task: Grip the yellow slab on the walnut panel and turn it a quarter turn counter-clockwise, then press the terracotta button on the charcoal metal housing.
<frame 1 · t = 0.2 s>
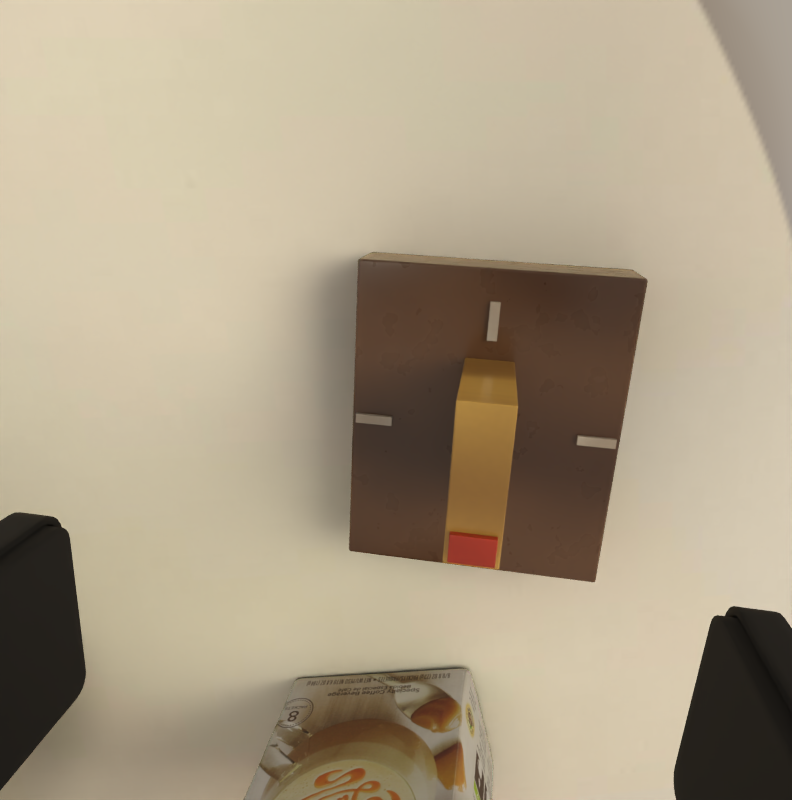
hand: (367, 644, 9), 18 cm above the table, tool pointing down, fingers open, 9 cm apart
yellow slab: (480, 457, 22), point 5 cm above the table, hinge at 0.0°
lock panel: (484, 408, 27), on the table
coffee box: (393, 717, 33), on the table
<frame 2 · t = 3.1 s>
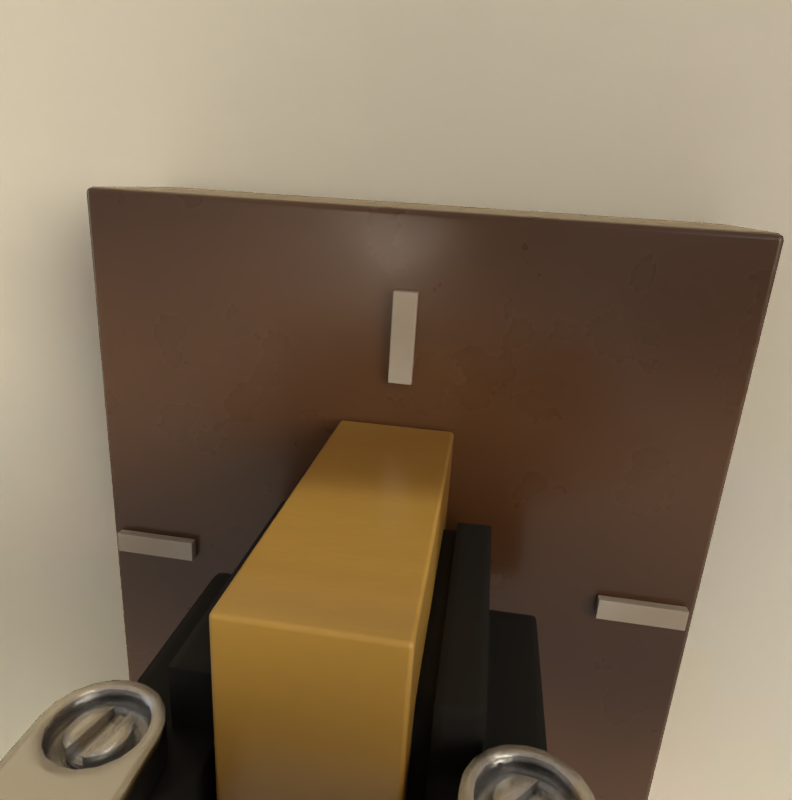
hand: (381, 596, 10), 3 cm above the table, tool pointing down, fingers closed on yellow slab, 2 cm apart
yellow slab: (355, 687, 9), point 5 cm above the table, hinge at 0.2°, touching gripper
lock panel: (407, 506, 13), on the table
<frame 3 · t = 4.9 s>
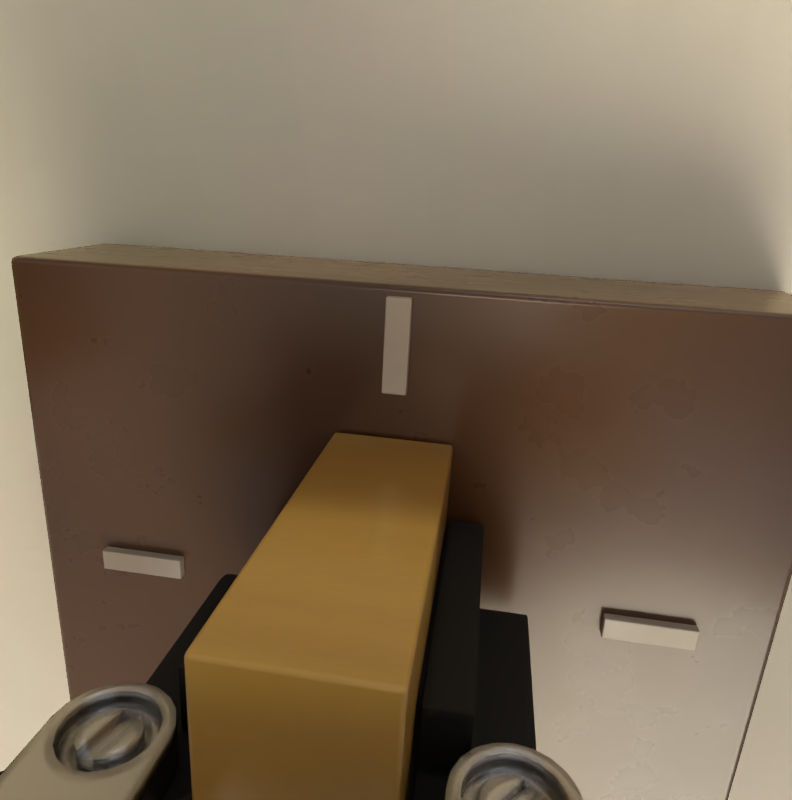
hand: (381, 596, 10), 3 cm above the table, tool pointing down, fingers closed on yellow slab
yellow slab: (348, 717, 8), point 5 cm above the table, hinge at 89.9°, touching gripper
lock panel: (405, 519, 13), on the table
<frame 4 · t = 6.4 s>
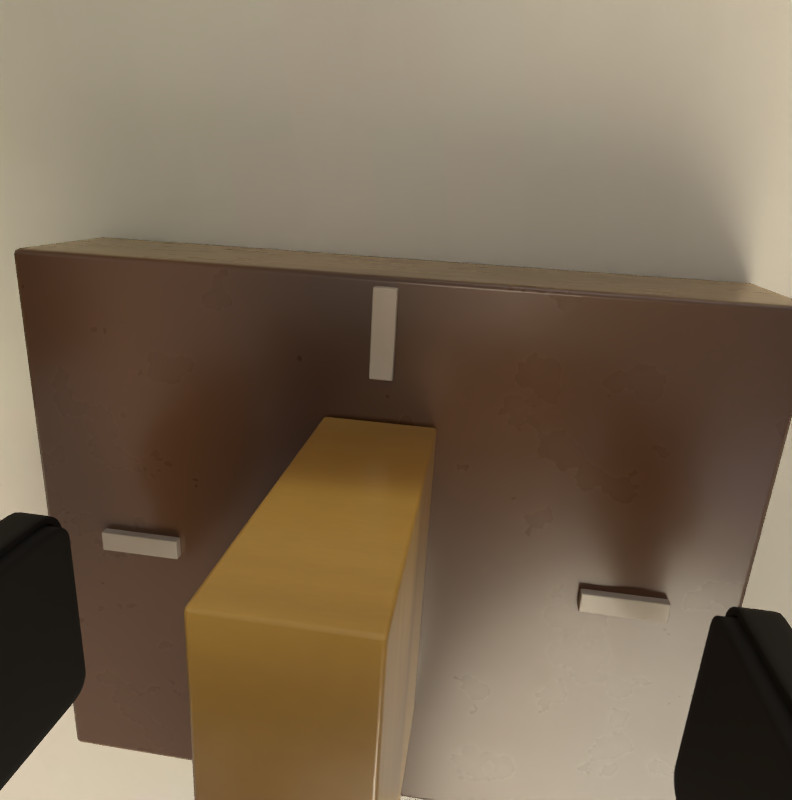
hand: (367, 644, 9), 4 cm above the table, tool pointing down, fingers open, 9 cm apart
yellow slab: (337, 682, 9), point 5 cm above the table, hinge at 89.9°
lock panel: (393, 503, 13), on the table
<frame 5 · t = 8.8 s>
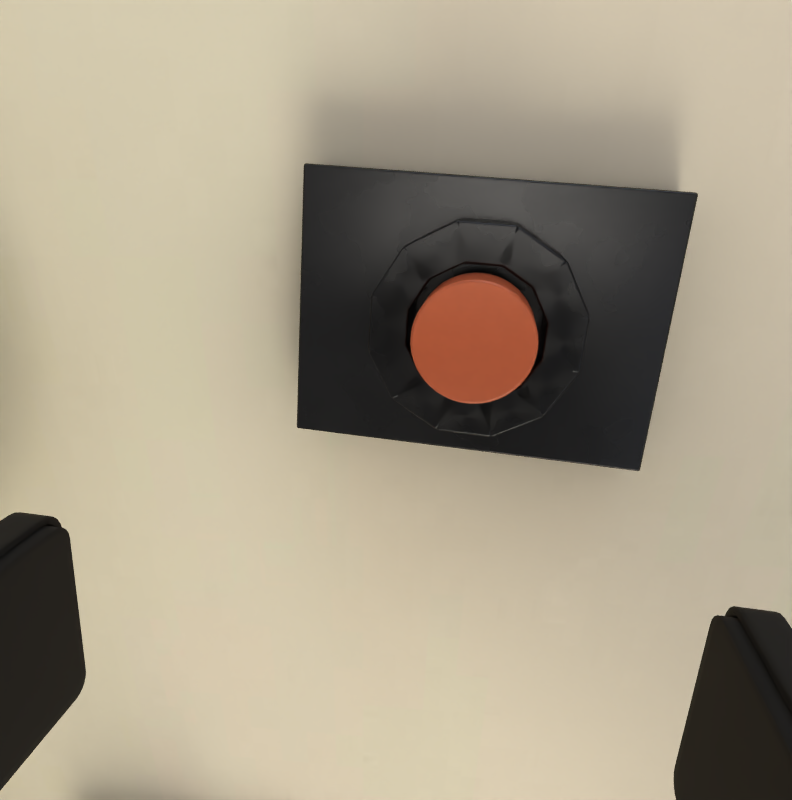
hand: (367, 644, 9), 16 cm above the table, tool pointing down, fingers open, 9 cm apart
button box: (479, 310, 23), on the table
button: (474, 337, 19), point 4 cm above the table, slide at 0.1 cm
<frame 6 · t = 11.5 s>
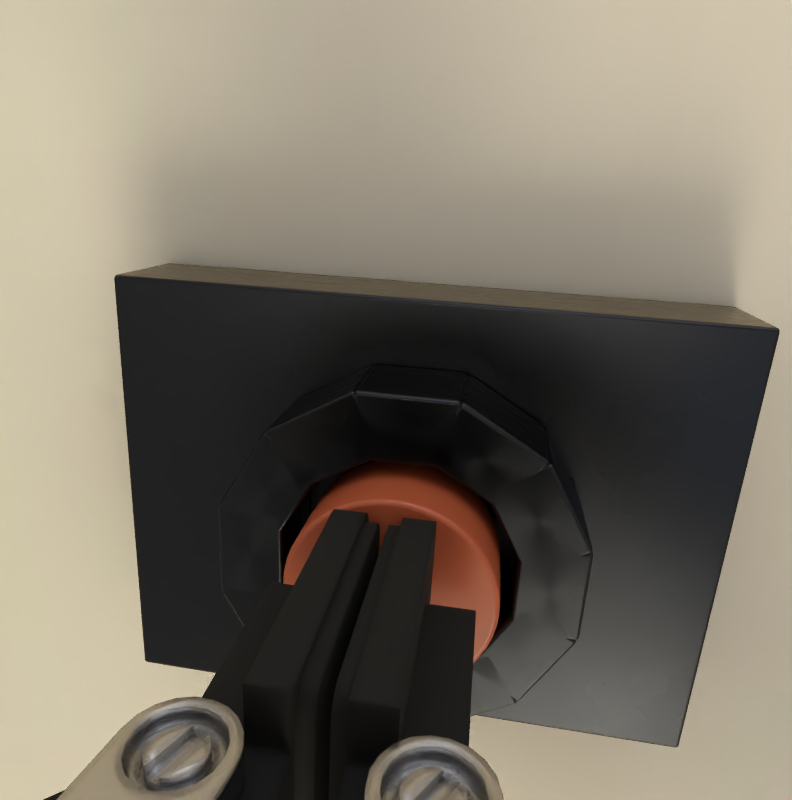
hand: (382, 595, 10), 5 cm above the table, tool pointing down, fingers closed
button box: (422, 478, 15), on the table
button: (396, 571, 11), point 4 cm above the table, slide at -0.4 cm, touching gripper
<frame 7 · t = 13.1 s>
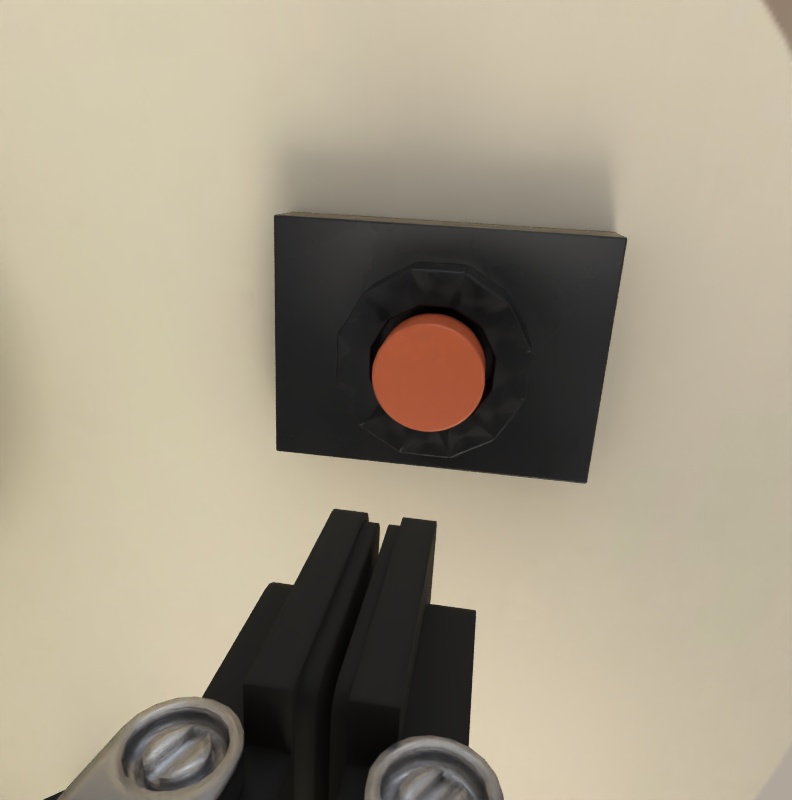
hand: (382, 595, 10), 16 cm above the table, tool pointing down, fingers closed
button box: (440, 339, 25), on the table
button: (429, 371, 21), point 4 cm above the table, slide at 0.1 cm
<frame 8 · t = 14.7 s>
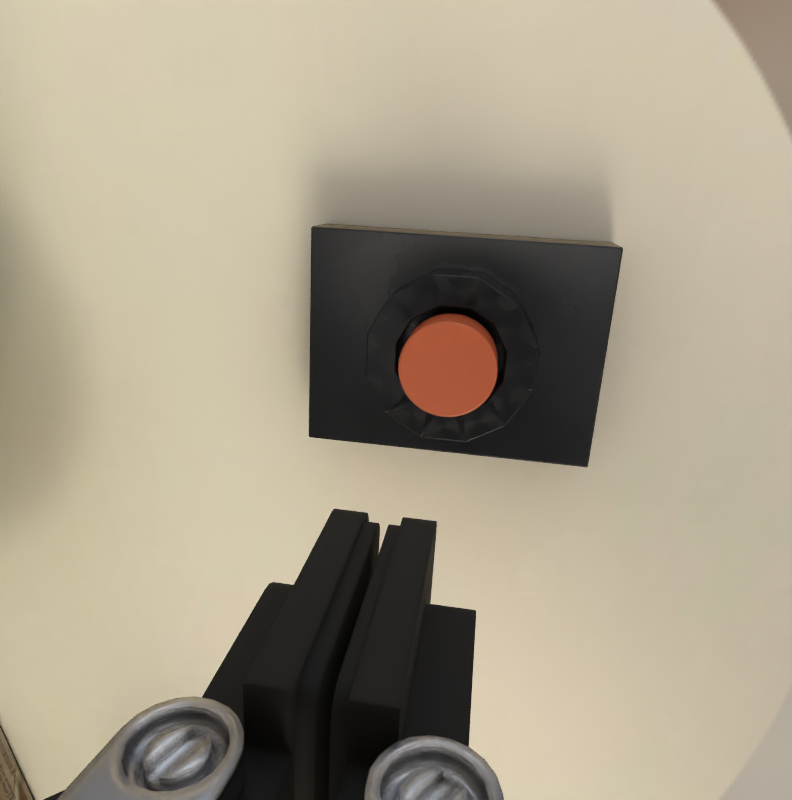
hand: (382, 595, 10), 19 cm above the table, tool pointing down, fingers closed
button box: (456, 338, 28), on the table
button: (448, 364, 24), point 4 cm above the table, slide at 0.1 cm
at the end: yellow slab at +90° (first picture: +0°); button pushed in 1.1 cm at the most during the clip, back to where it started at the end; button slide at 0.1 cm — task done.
